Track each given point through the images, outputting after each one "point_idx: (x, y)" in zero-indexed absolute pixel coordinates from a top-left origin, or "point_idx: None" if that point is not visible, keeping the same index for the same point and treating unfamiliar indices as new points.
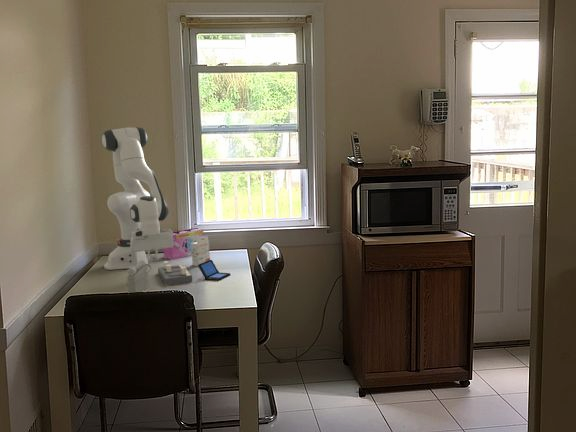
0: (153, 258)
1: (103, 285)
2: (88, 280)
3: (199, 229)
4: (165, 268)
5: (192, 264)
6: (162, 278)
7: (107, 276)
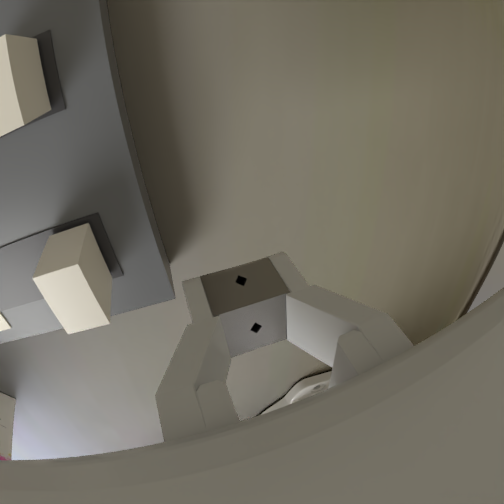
0: (237, 268)
1: (488, 71)
2: (499, 199)
3: None
4: (80, 227)
5: (14, 402)
6: (107, 17)
7: (444, 250)
